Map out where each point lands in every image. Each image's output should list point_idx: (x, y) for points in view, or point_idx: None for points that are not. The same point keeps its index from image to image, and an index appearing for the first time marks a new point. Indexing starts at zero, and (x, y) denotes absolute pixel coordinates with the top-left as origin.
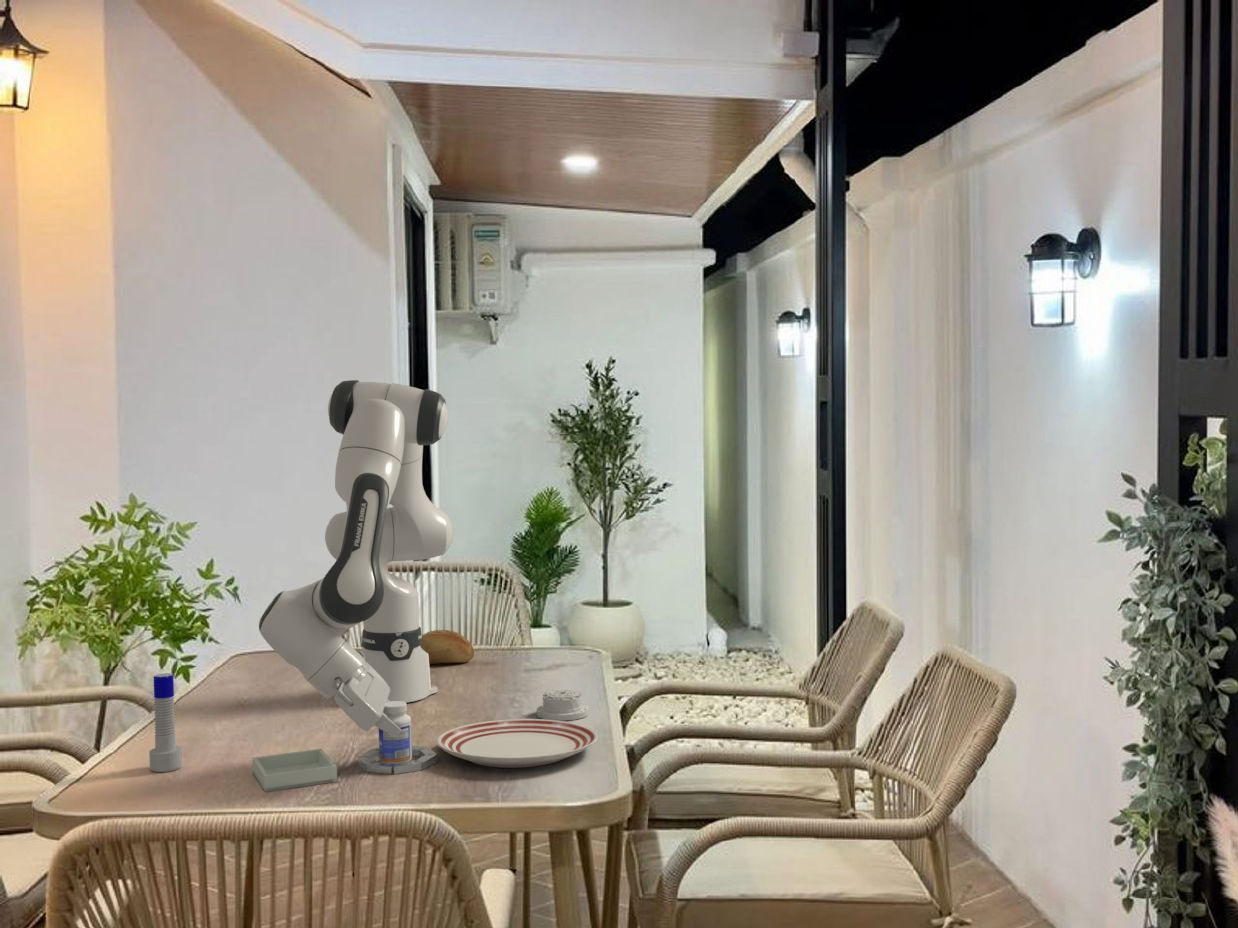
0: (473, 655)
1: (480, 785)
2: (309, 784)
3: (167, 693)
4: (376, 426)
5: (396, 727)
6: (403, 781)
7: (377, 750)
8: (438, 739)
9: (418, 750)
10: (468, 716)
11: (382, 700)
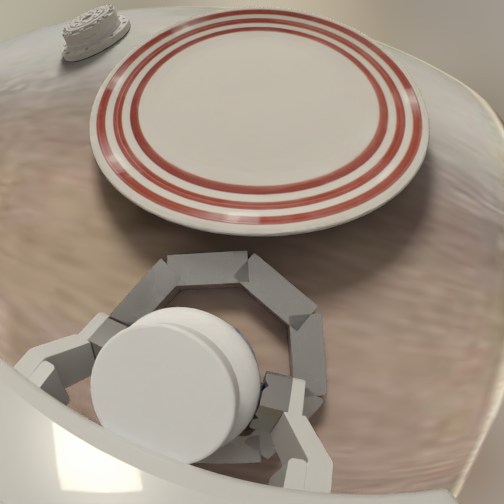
0: None
1: (452, 217)
2: None
3: None
4: None
5: (302, 400)
6: (388, 373)
7: None
8: (186, 222)
9: (175, 288)
10: (7, 143)
11: (184, 492)
